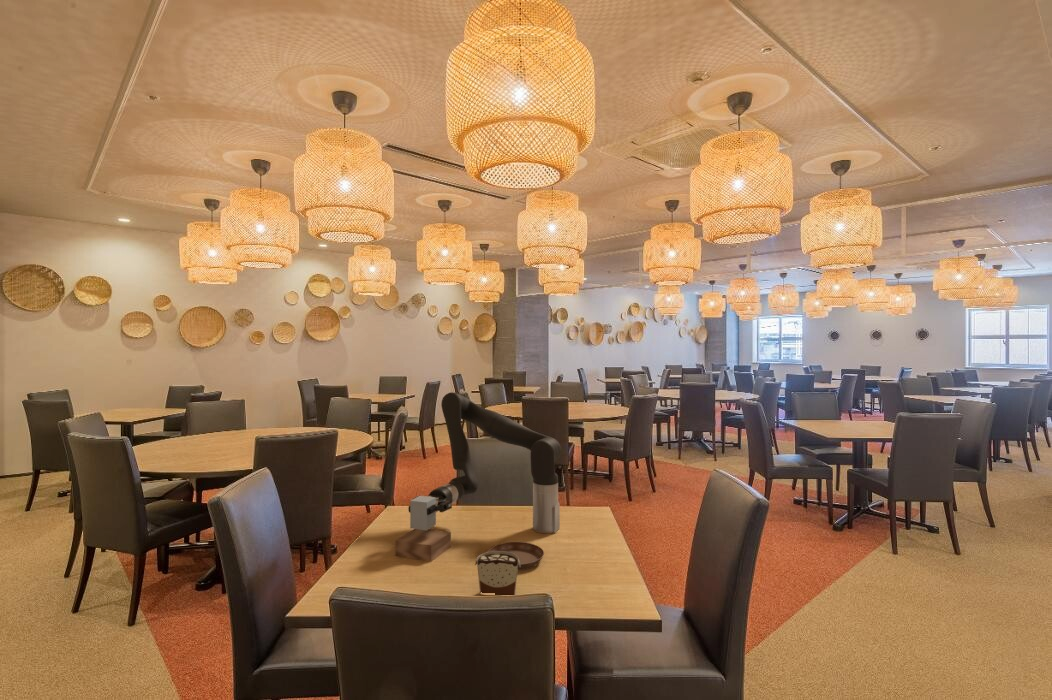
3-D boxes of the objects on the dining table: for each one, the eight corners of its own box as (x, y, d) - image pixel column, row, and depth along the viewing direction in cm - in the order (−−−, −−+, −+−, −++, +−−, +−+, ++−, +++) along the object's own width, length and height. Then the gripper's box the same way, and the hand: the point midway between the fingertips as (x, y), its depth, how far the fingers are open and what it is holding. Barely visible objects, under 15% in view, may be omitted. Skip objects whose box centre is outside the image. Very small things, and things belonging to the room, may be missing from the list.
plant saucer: (532, 577, 157) (532, 566, 157) (478, 568, 163) (478, 558, 163) (551, 555, 173) (551, 545, 173) (500, 548, 179) (500, 539, 179)
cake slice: (522, 587, 150) (522, 551, 150) (520, 597, 143) (520, 559, 143) (479, 584, 151) (479, 549, 151) (474, 594, 145) (474, 557, 145)
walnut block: (450, 546, 179) (450, 532, 179) (431, 561, 167) (431, 545, 167) (416, 542, 184) (416, 527, 184) (395, 556, 171) (395, 540, 171)
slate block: (435, 524, 177) (436, 497, 177) (426, 530, 172) (426, 502, 172) (419, 522, 179) (420, 495, 179) (410, 528, 174) (410, 500, 174)
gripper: (425, 484, 191) (399, 496, 175) (462, 488, 186) (438, 501, 170) (425, 505, 191) (399, 519, 175) (462, 509, 186) (438, 525, 170)
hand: (418, 510), depth 173 cm, fingers closed on slate block, 6 cm apart
